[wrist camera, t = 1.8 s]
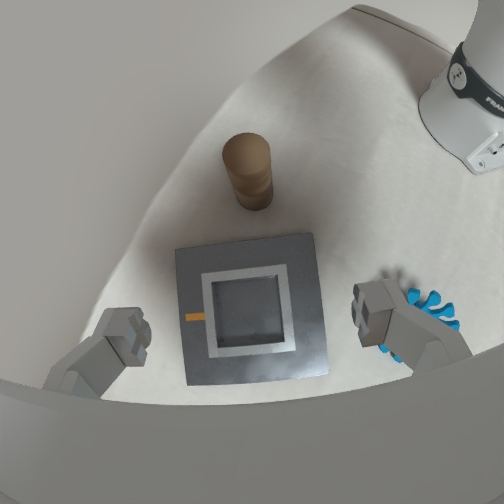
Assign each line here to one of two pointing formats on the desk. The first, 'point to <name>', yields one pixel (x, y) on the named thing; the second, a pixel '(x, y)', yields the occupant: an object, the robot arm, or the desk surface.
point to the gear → (429, 311)
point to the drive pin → (249, 169)
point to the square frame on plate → (251, 311)
